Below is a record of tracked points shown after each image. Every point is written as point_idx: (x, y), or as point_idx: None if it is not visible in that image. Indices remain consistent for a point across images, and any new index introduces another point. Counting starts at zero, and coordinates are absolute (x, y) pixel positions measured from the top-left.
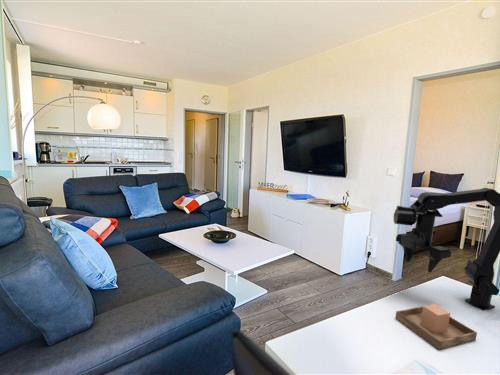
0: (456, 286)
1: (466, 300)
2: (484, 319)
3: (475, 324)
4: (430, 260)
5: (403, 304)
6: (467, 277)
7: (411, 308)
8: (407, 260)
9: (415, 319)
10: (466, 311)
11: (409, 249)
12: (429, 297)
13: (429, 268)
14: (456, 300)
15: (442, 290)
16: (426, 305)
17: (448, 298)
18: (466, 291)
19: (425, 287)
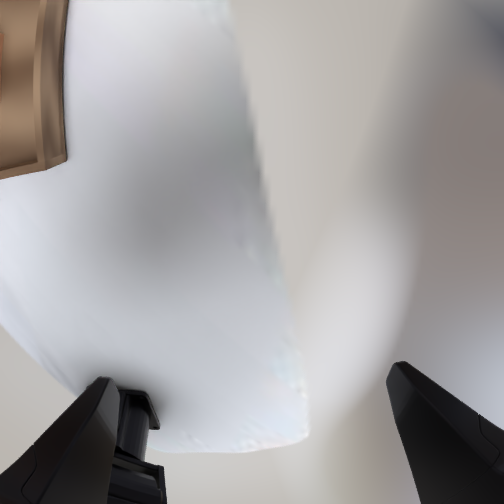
0: (246, 436)
1: (138, 395)
2: (36, 341)
3: (3, 283)
4: (26, 496)
5: (159, 67)
6: (145, 479)
7: (42, 22)
8: (403, 372)
9: (26, 27)
10: (75, 336)
11: (457, 490)
12: (191, 291)
13: (78, 408)
14: (152, 373)
15: (235, 388)
16: (42, 140)
17: (170, 360)
18: (209, 436)
19: (280, 348)
